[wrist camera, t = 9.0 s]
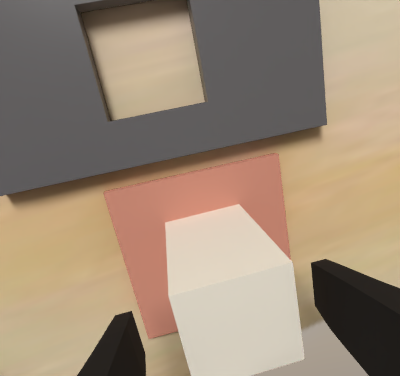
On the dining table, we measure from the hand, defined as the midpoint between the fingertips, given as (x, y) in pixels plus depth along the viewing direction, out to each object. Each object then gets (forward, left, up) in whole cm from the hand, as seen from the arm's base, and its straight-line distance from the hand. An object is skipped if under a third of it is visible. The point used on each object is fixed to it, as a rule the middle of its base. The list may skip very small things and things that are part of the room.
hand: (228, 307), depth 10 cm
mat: (0, 0, -5) cm, 5 cm away
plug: (0, 0, -5) cm, 5 cm away
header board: (-1, +10, -5) cm, 11 cm away
